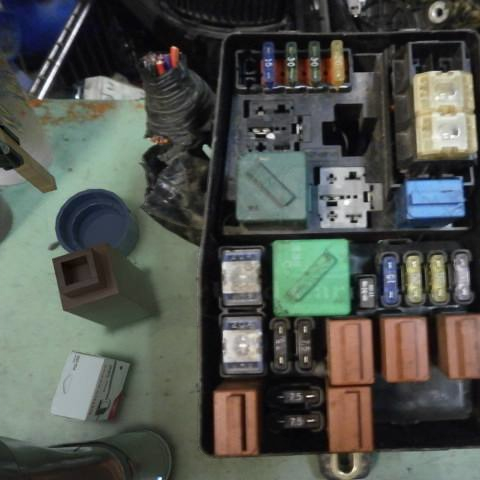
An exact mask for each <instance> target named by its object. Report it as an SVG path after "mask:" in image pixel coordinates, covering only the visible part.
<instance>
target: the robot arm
mask: <svg viewBox="0 0 480 480" xmlns="http://www.w3.org/2000/svg"><path fill="white" fill-rule="evenodd" d="M0 128H1V129H2V130H3V131H4V132H5V133H6V134H7V135H9V136H10V137H11V138H12V139H13V140H14V141H15V142H16V143H17V144H19V145H20V146H21V143H20V142H21V141H20V138H19V137H18V136H17V135H16V134H15V133H14V132H13V131H12V130H11V129H9V127H7V126H6V124H5V120H4V118H3V117H2V115H1V114H0ZM22 165H24V159H23V157H22V156H21V155H20V154H19V153H18V152H16V151H15V150H14V149H13V148H12V147H11V146H10V145H8V144H6V142H5V141H3V140H2V139H1V137H0V169H2V170H4V171H6V172H8V171H11V170H13V169H16V168H19V167H20V166H22ZM169 446H170V445H168V443H167V441H166V440H165V439H164V438H163V437H162V436H161V435H160V434H158V433H157V432H154V431H151V430H148V429H135V430H132V431H129V432H125V433H120V434H115V435H111V436H106V437H102V438H96V439H92V440H91V439H90V440H79V441H78V440H77V441H76V440H75V441H67V442H60V443H53V444H48V445H40V444H37V443H33V442H30V441H25V440H21V439H17V438H12V437H8V436H3V435H0V480H168V479H169V477H170V474H171V471H172V465H173V457H172V452H171V449H170V447H169Z"/></svg>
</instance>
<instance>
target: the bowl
mask: <svg viewBox="0 0 480 480" xmlns="http://www.w3.org/2000/svg"><path fill="white" fill-rule="evenodd" d="M133 211H134V210H132V208H131V207H130V206H129V205H128V204H127V203H126V201H125V200H124V199H123V198H122V197H120V196H119V195H118V194H117V193H115V192H113V191H111V190H107V189H104V188H88V189H84V190H81V191H78V192H77V193H75V194H73V195H72V196H70V197H69V198H67V200H66V201H65V202H64V203H63V204H62V205H61V206H60V208H59V210H58V212H57V214H56V217H55V223H54V231H55V236H56V240H57V242H59V245H60V246H61V247H62V249H64V250H65V251H66V252H67V253H68V254H69V253H72V252H75V251H79V250H82V249H85V248H89V247H92V246H95V245H98V244H102V243H105V242H107V243H108V244H110V245H111V246H112V247H113V248H114V249H116V250H117V251H118V252H119V253H121V254H122V255H123V256H124V257H125V258H127V256H128V255H129V254H130V252H131V251H132V250H133V249H134V248H135V245H136V244H137V241H138V239H139V233H140V231H139V230H140V225H139V221H138V218H137V216H136V214H135V213H134V212H133Z"/></svg>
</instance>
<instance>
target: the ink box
mask: <svg viewBox="0 0 480 480" xmlns="http://www.w3.org/2000/svg"><path fill="white" fill-rule="evenodd" d="M130 366H131V363H129V362H125V361H122V360H119V359H115V358H112V357H107V356H103V355H99V354H94V353H90V352H86V351H81V350H80V351H79V350H74V349H72V350H71V351H69V354H67V356H66V360H65V363H64V365H63V369H62V371H61V372H62V373H61V376H60V378H59V380H58V384H57V386H56V391H55V392H54V395H53V399H52V402H51V404H50V407H49V412H50V414H49V416H50V417H54V418H60V419H65V420H70V421H77V422H92V421H93V422H97V421H104V420H105V421H106V420H114V418H115V415H116V411H117V408H118V406H119V401H120V399H121V395H122V391H123V389H124V385H125V382H126V379H127V375H128V372H129V369H130Z"/></svg>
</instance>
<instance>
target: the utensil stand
mask: <svg viewBox="0 0 480 480" xmlns="http://www.w3.org/2000/svg"><path fill="white" fill-rule="evenodd" d="M51 262H52V265H53V270H54V275H55V280H56V285H57V289H58V294H59V298H60V299H59V300H60V304H61V307H62V311H63V312H65V313H69V314H72V315H74V316H76V317H79V318H82V319H85V320H87V321H91V322H93V323H96V324H98V325H101V326H103V327H106V328H108V329H114V328H118V327H121V326H124V325H126V324H129V323H132V322H135V321H138V320H142V319H146V318H148V317H151V316H154V315H156V311H155V308H154V304H153V301H152V296H151V293H150V288H149V285H148V281H147V276H146V274H145V272H144V271H143V270H142V269H140V268H139V267H138V266H136V265H135V264H134V263H133V262H132V261H131V260H129V259H128V258H127V257H124V256H123V255H122V254H121V253H119V252H118V251H117V250H116V249H114V248H113V247H112V246H111V245H110V244H108V243H107V242H105V243H102V244H98V245H95V246H92V247H89V248H85V249H82V250H79V251H75V252H72V253H69V252H68V253H66V254H62V255H59V256H56V257H52V258H51Z"/></svg>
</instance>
